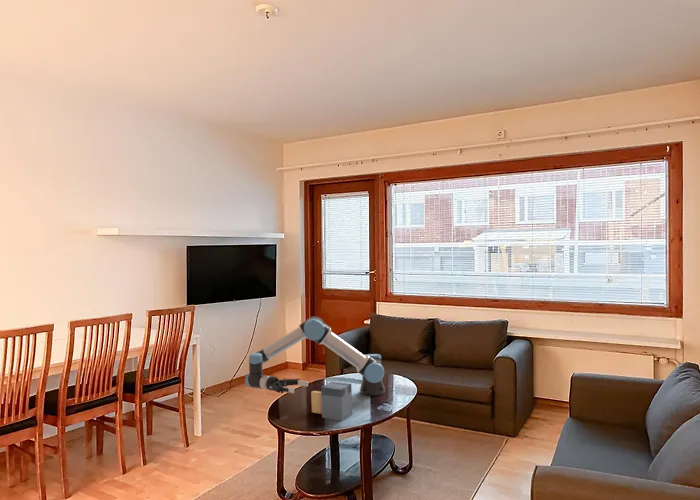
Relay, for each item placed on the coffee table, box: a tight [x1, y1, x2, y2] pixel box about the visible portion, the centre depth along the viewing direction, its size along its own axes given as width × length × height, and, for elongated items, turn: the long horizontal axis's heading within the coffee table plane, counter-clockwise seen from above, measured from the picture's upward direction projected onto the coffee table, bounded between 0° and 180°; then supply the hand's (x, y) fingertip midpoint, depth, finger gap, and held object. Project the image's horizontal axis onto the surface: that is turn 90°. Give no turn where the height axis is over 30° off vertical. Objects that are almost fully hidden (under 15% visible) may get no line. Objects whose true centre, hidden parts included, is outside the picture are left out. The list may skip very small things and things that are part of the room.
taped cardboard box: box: [310, 390, 322, 415], centre depth 266 cm, size 15×3×11 cm, turn 62°
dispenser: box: [320, 381, 353, 421], centre depth 263 cm, size 13×11×16 cm
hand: (301, 387), depth 273 cm, fingers open, 13 cm apart
